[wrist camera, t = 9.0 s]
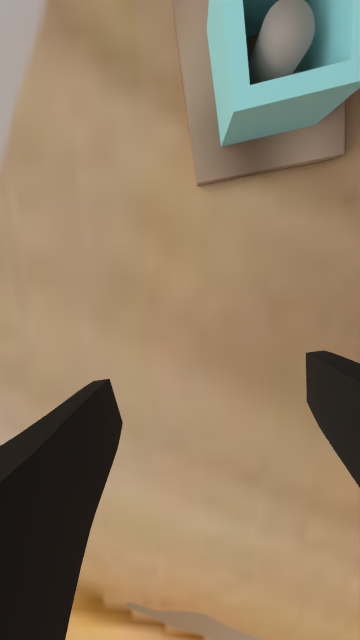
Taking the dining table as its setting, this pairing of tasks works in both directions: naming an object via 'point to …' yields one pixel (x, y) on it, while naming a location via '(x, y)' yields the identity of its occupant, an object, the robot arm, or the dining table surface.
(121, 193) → the dining table surface
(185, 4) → the pin plate
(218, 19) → the teal hollow block
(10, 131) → the dining table surface
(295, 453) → the dining table surface
